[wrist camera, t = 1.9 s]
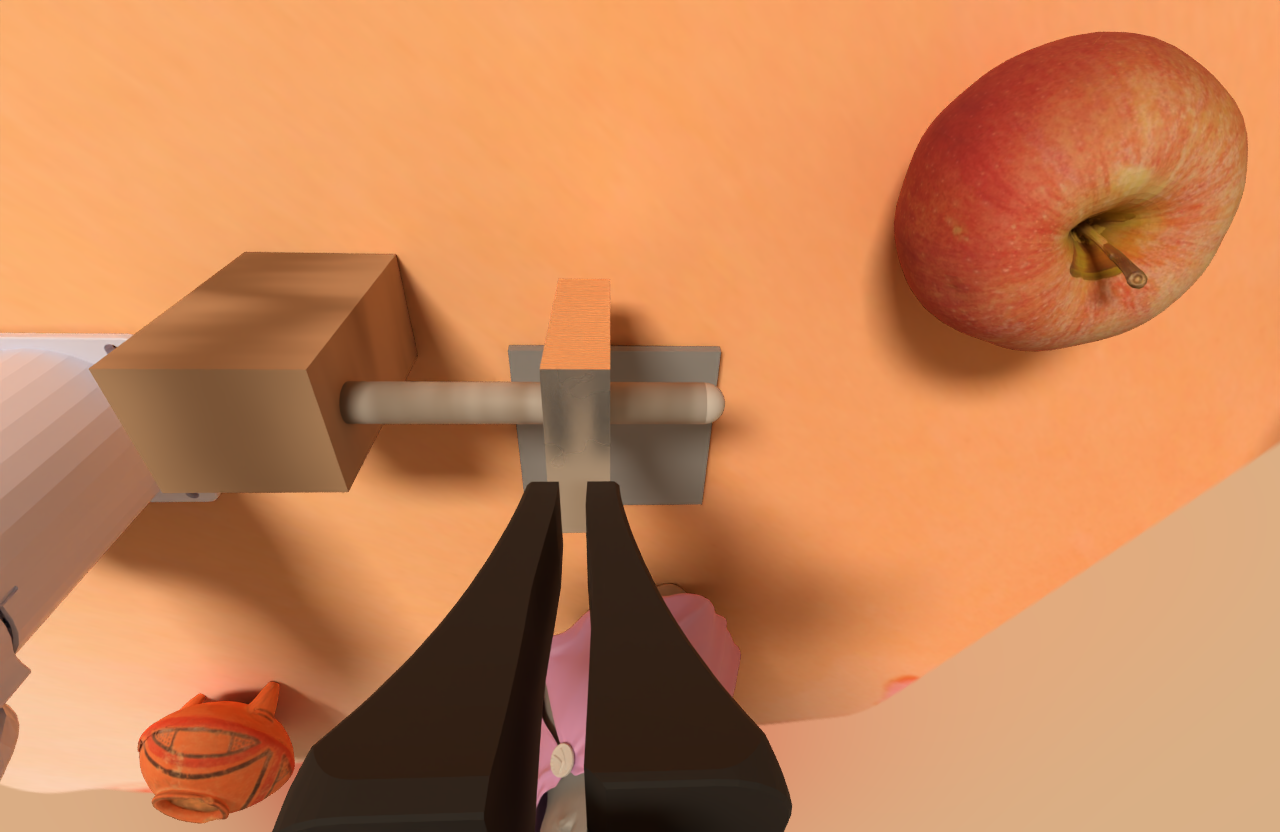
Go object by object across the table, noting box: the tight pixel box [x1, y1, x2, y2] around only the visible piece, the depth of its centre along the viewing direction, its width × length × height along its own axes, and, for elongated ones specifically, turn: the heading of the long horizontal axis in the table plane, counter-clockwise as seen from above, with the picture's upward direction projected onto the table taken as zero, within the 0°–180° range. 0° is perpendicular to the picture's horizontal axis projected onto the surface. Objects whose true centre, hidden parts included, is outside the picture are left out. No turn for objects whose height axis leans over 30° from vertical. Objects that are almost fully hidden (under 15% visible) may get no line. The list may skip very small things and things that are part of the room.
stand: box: [89, 252, 725, 493], centre depth 19 cm, size 16×4×8 cm, turn 88°
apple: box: [894, 32, 1248, 351], centre depth 17 cm, size 8×8×8 cm
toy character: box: [535, 584, 741, 832], centre depth 24 cm, size 12×10×20 cm
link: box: [539, 279, 610, 533], centre depth 18 cm, size 2×5×6 cm, turn 178°
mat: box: [508, 345, 721, 505], centre depth 25 cm, size 8×8×1 cm
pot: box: [138, 681, 295, 823], centre depth 34 cm, size 8×8×7 cm
